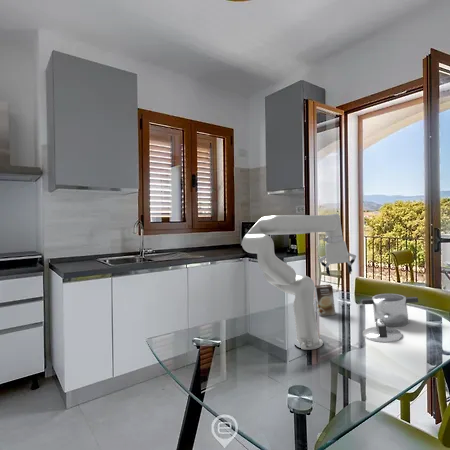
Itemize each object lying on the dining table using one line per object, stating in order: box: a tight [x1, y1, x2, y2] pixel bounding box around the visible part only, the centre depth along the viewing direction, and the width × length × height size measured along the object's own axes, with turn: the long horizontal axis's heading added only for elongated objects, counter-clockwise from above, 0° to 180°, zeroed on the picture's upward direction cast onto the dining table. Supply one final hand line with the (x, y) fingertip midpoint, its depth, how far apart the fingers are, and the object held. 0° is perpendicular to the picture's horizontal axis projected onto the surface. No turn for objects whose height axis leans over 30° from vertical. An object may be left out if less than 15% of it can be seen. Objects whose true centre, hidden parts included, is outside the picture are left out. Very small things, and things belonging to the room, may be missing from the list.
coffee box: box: [314, 284, 336, 317], centre depth 185 cm, size 9×6×16 cm
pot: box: [361, 293, 419, 328], centre depth 161 cm, size 25×15×12 cm, turn 73°
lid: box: [362, 318, 403, 343], centre depth 147 cm, size 16×16×6 cm
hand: (339, 274), depth 158 cm, fingers open, 9 cm apart
